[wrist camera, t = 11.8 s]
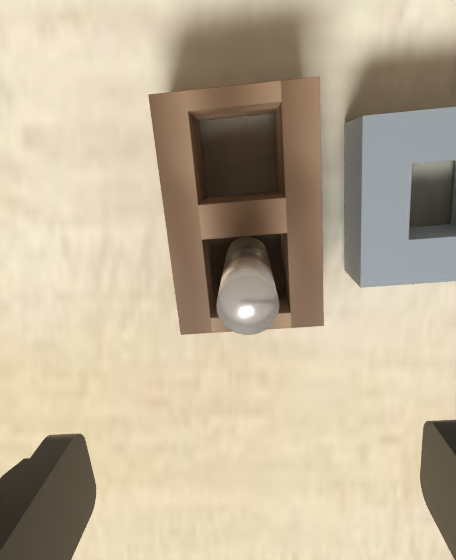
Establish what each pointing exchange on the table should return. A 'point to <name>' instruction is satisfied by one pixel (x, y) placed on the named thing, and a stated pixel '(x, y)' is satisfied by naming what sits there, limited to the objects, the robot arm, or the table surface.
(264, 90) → the walnut rack
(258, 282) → the steel rod
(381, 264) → the socket block
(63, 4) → the table surface
